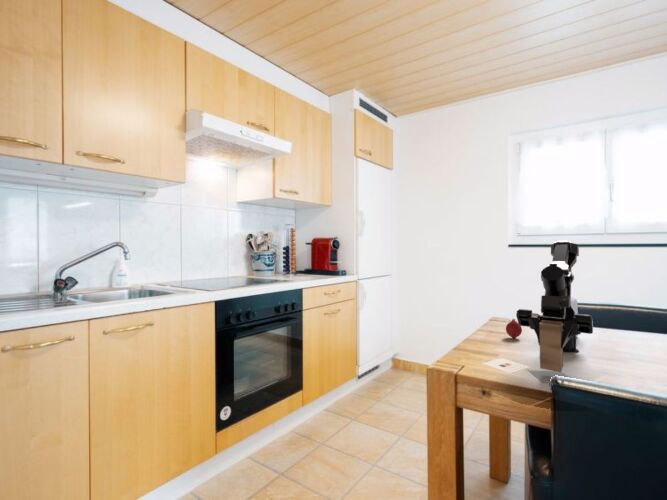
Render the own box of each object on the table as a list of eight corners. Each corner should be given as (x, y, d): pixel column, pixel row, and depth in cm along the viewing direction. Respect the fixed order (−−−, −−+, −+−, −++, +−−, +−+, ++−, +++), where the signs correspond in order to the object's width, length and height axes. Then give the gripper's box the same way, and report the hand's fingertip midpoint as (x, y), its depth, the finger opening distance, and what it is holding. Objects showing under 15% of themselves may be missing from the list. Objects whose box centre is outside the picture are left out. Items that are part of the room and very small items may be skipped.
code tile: (501, 359, 115) (501, 357, 115) (530, 368, 106) (530, 366, 106) (481, 364, 110) (481, 363, 110) (509, 374, 101) (509, 373, 101)
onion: (524, 340, 135) (523, 320, 135) (508, 340, 137) (508, 320, 137) (519, 336, 141) (518, 317, 141) (504, 336, 142) (503, 317, 142)
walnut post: (542, 363, 102) (542, 319, 101) (563, 366, 98) (562, 322, 98) (540, 368, 98) (539, 323, 97) (561, 372, 94) (560, 325, 94)
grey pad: (560, 372, 102) (560, 370, 102) (578, 384, 93) (578, 383, 93) (528, 371, 103) (528, 370, 103) (542, 384, 94) (542, 382, 94)
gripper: (516, 283, 107) (509, 325, 98) (591, 286, 95) (590, 334, 86) (522, 304, 113) (515, 345, 104) (593, 310, 101) (592, 357, 93)
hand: (550, 345), depth 97 cm, fingers closed on walnut post, 5 cm apart
